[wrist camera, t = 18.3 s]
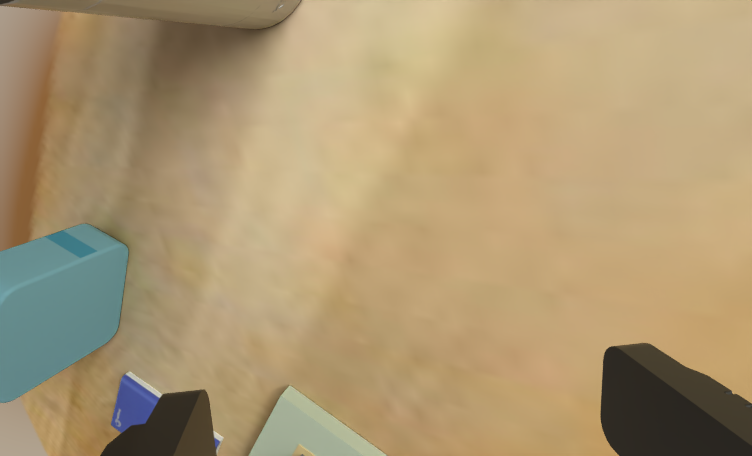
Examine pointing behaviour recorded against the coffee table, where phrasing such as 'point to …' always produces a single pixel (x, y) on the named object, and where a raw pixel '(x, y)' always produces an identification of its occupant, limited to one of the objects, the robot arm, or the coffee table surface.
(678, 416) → the robot arm
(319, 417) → the pin board
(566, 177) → the coffee table surface
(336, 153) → the coffee table surface
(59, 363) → the data package
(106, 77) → the coffee table surface
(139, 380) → the hard drive
